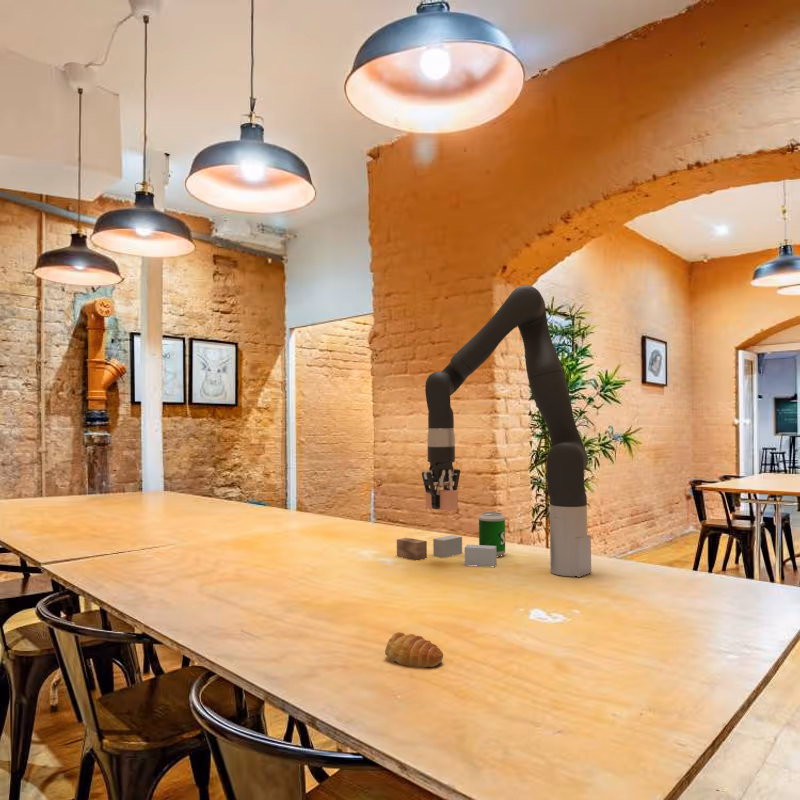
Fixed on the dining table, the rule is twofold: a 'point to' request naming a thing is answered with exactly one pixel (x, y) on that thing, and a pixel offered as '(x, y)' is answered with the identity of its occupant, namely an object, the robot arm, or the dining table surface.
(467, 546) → the blue-grey brick
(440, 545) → the slate brick
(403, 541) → the walnut brick
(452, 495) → the terracotta brick
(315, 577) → the dining table surface
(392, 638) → the pastry
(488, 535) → the soda can
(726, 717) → the dining table surface
